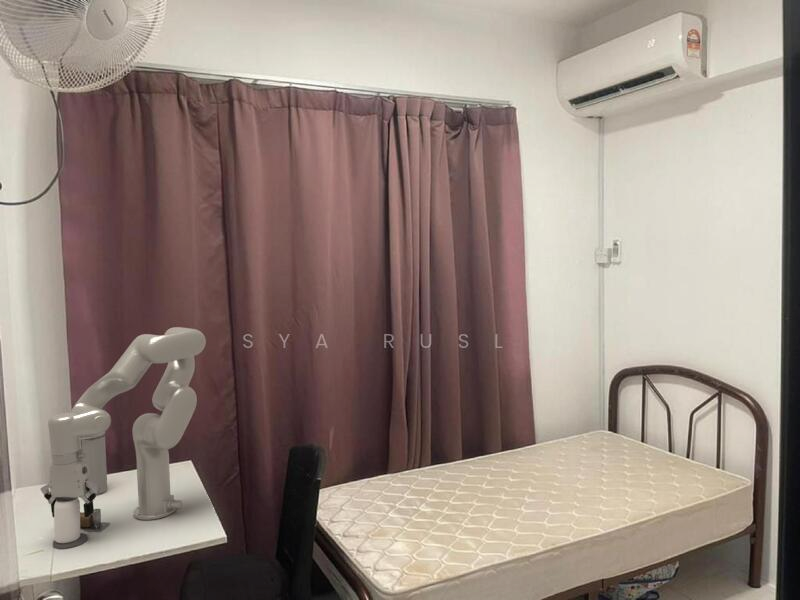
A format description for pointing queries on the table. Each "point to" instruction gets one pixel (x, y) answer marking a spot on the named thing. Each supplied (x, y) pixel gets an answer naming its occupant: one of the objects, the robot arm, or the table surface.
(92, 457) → the water bottle
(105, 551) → the table surface
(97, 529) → the ball knob on plate
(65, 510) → the can
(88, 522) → the bar
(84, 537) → the pad
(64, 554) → the table surface
